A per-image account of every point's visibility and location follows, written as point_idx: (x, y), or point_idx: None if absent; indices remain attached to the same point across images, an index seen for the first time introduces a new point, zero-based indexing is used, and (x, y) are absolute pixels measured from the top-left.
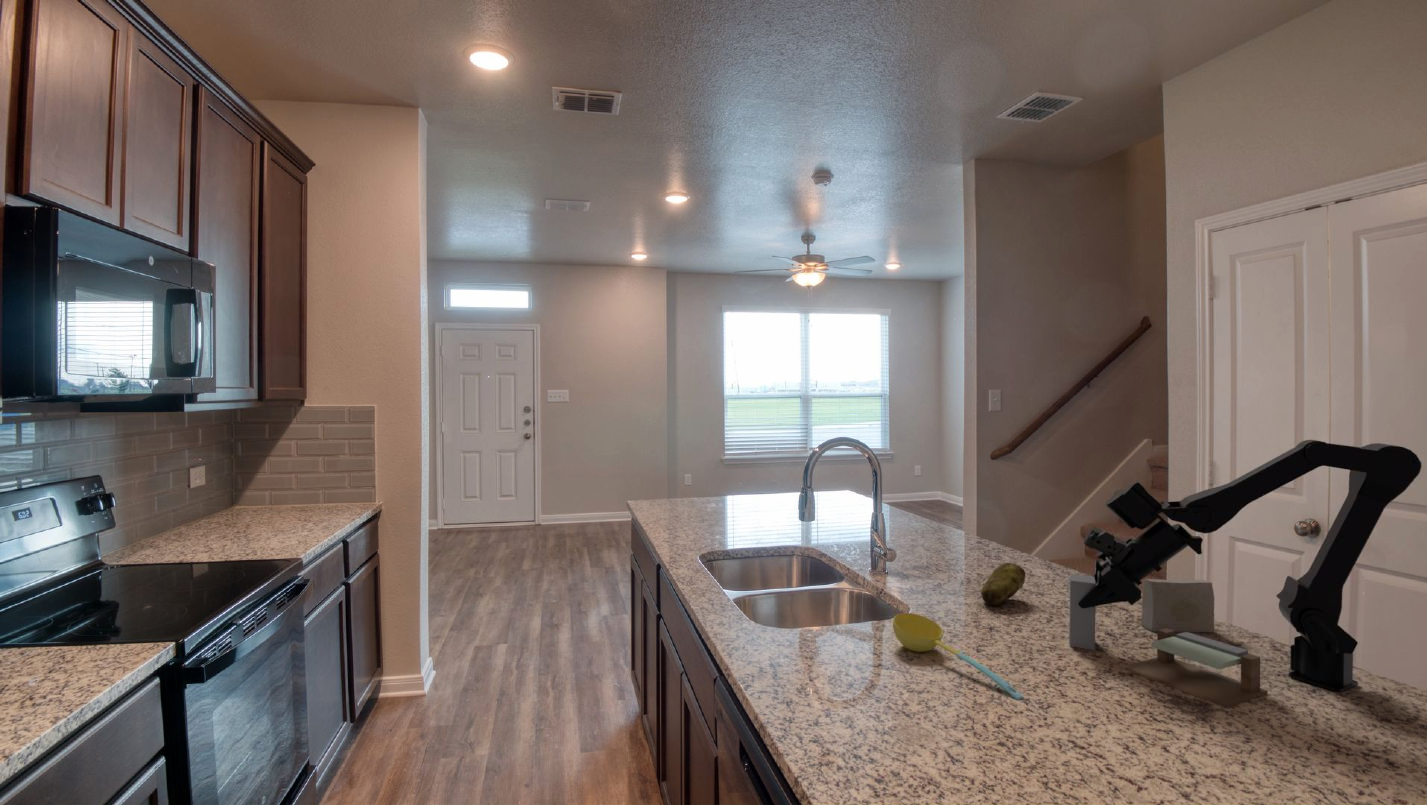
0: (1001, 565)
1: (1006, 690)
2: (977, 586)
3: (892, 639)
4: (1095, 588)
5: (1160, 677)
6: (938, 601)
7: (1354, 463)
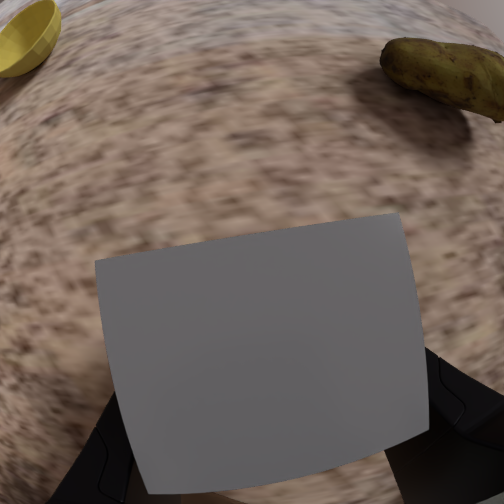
0: (494, 52)
1: None
2: None
3: (65, 24)
4: (72, 472)
5: None
6: (331, 6)
7: None
